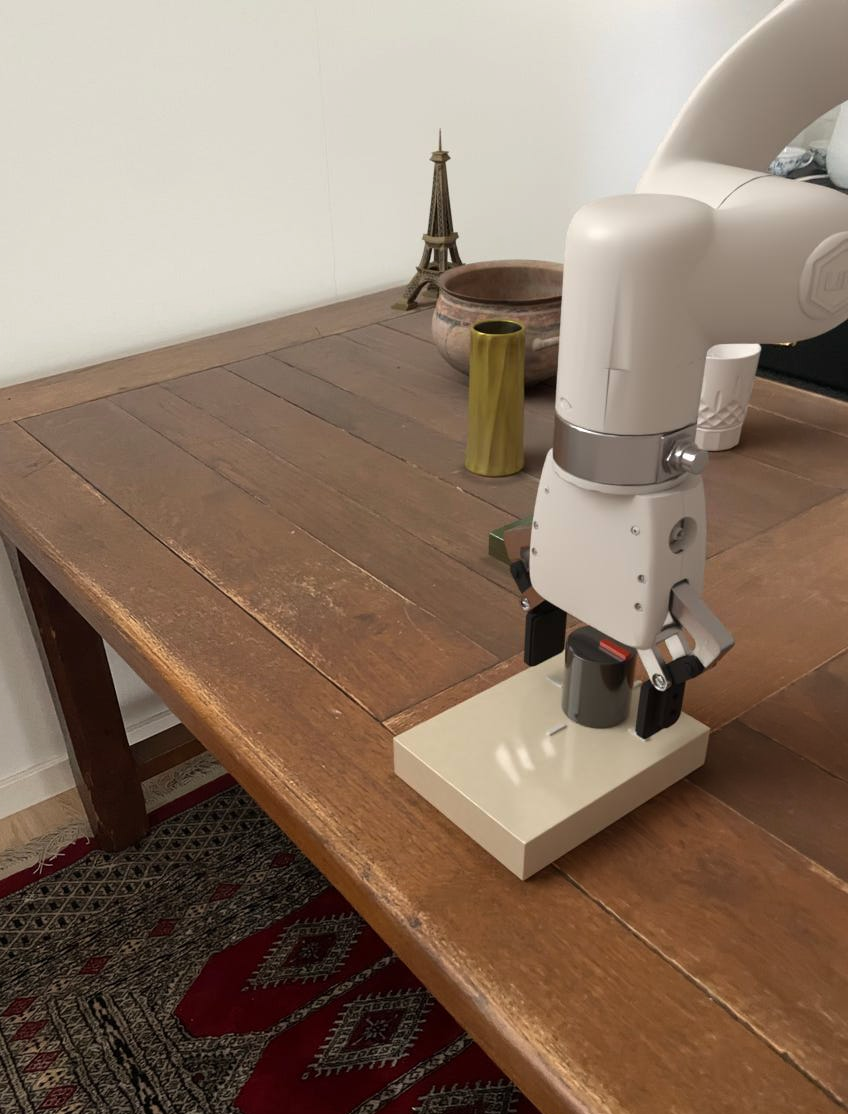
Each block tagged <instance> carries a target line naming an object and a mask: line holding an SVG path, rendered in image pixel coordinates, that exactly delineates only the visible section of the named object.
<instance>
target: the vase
mask: <svg viewBox="0 0 848 1114" xmlns="http://www.w3.org/2000/svg"><path fill="white" fill-rule="evenodd" d="M525 335H526V327H525V325H524V324H523V323H521V322H519V321H515V320H511V319H487V320H482V321H478V322H476V323H474V324H473V325H472V326H471V330H470V377H469V381H468V382H469V383H468V384H469V385H468V421H467V422H468V423H467V424H468V425H467V437H466V450H465V457H464V467H465V468H466V469H467V470H468V471H469V472H471V473H473V474H474V475H477V476H482V477H487V478H501V477H507V476H511V475H515V474H517V473H518V472H520V471H521V470H522V469H523V468H524V466H525V456H524V430H525V429H524V428H525V426H524V425H525V389H524V360H525Z"/></svg>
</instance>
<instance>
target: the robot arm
mask: <svg viewBox="0 0 848 1114" xmlns="http://www.w3.org/2000/svg"><path fill="white" fill-rule="evenodd" d="M847 101H848V0H782V1H781V2H780V3H779V4H778V5H777V6H776V7H774V8H773V9H772V10H771V11H769V12H768V13H767V15H765V16H764V17H763V18H762V19H761V20H760V21H759V22H757V23H756V24H755V25H754V26H752V27H751V28H750V29H749V30H748V31H747V32H746V33H745V34H743V35H742V36H741V37H740V38H739V39H738V40H736V42H735V43H734V44H733V45H731V47H730V48H728V49H727V50H726V52H724V53H723V54H722V56H721V57H719V59H718V60H717V61H716V62H715V63H714V64H713V65H712V66H711V67H710V68H709V70H707V72H706V73H705V75H704V76H702V78H701V79H700V81H699V82H698V83H697V85H696V86H695V87H694V89H693V90H692V92H691V93H690V94H689V96H688V97H687V99H686V100H685V102H684V103H683V105H682V107H680V110H679V112H678V113H677V115H676V116H675V118H674V119H673V121H672V123H671V125H670V127H669V128H668V129H667V131H666V133H665V135H664V136H663V139H662V140H661V141H660V144H659V145H658V146H657V148H656V149H655V152H654V154H653V155H652V157H651V158H650V161H649V162H648V164H647V166H645V169H644V170H643V173H642V175H641V177H640V179H639V181H638V183H637V186H636V188H635V190H634V193H628V194H627V193H626V194H617V195H611V196H606V197H602V198H599V199H596V200H593V201H590V202H588V203H586V204H585V205H583V206H582V207H580V208H579V209H578V210H577V211H576V212H575V214H574V215H573V216H572V218H571V220H570V222H569V225H568V228H567V231H566V235H565V243H564V256H563V264H564V271H563V288H562V306H561V323H560V339H559V356H558V372H557V374H556V388H555V389H556V390H555V406H554V419H553V420H554V421H553V436H552V447H551V448H550V449H549V450H548V451H547V453H546V457H545V460H544V464H543V467H542V471H541V475H540V479H539V483H538V486H537V493H536V498H535V503H534V509H533V514H534V516H533V523H532V524H525V525H519V526H517V527H514V528H512V529H509V530H507V531H505V532H504V533H503V540H504V543H505V547H506V550H507V553H508V556H509V560H511V561H512V564H511V565H510V566H509V571H510V575H511V577H512V578H513V580H514V582H515V584H516V586H517V588H518V590H519V592H520V593H521V594H520V595H519V597H518V604H519V606H520V609H522V610H523V611H524V612H526V614H525V626H524V627H525V629H524V649H523V663H524V664H526V665H527V666H529V668H530V667H533V666H537V665H539V664H541V663H543V662H545V661H546V660H548V659H550V658H552V657H554V656H556V655H558V654H560V653H562V652H563V651H564V650H565V647H566V633H567V632H566V631H567V620H568V614H569V615H571V616H573V617H574V618H576V619H578V620H580V621H581V622H582V623H585V624H586V625H587V626H588V625H590V626H592V627H594V628H595V629H597V630H599V631H601V632H602V633H604V634H606V635H608V636H610V637H612V638H614V639H615V640H617V641H619V642H621V643H623V644H625V645H627V646H630V647H632V648H636V649H637V652H638V654H637V655H638V656H639V658H640V661H641V663H642V664H643V667H644V670H645V672H646V673H647V676H648V678H649V679H647V680H645V681H644V682H643V681H642V684H641V685H640V687H641V689H640V697H639V704H638V712H637V720H636V727H635V731H636V734H637V735H638V736H639V737H641V738H642V739H644V740H645V739H647V738H649V737H651V736H652V735H654V734H656V733H657V732H659V731H661V730H663V729H664V728H665V729H666V728H669V727H670V726H672V725H674V724H675V723H676V722H677V721H678V719H679V717H680V714H681V711H682V709H683V702H684V697H685V689H686V682H687V681H691V680H694V679H696V678H697V677H699V676H700V675H702V674H704V673H706V672H707V671H709V670H711V669H713V668H715V667H716V666H717V663H718V662H719V661H721V660H722V659H723V658H724V657H725V656H726V655H727V654H728V653H729V652H730V651H731V650H732V649H733V648H734V646H735V644H736V639H735V637H734V635H733V634H732V633H731V631H730V630H729V629H728V628H727V627H726V625H724V624H723V622H722V621H721V620H720V619H719V617H717V615H716V614H715V613H714V612H713V611H712V609H710V608H709V606H708V605H707V604H706V603H705V602H704V600H703V599H702V598H703V591H704V582H705V570H706V555H707V508H706V493H705V487H704V486H705V485H704V480H703V476H702V475H701V473H702V472H703V471H704V470H705V469H706V468H707V465H708V462H709V459H710V457H709V451H705V450H703V449H700V448H698V446H697V444H695V438H696V431H697V420H698V411H699V404H700V397H701V391H702V384H703V377H704V370H705V363H706V356H707V351H708V350H709V349H710V348H711V347H713V346H715V345H718V344H759V345H775V344H790V343H797V342H801V341H805V340H810V339H813V338H816V337H818V336H821V335H823V334H825V333H827V332H830V331H831V330H833V329H835V328H836V327H838V326H839V325H841V324H842V323H844V322H845V321H847V320H848V194H846V193H843V192H842V191H839V190H837V189H834V188H832V187H827V186H825V185H821V184H816V183H812V182H808V181H802V180H798V179H797V180H796V179H792V178H787V177H784V176H780V175H775V174H772V173H766V171H768V169H769V168H770V166H771V165H772V164H773V162H774V161H775V160H776V159H777V157H779V155H780V154H781V153H782V152H783V151H784V149H785V148H786V147H788V145H789V144H791V143H792V141H794V140H795V139H796V138H797V137H798V136H799V135H800V134H801V133H803V131H804V130H805V129H807V128H808V127H809V126H811V125H812V124H813V123H814V122H816V121H817V120H818V119H820V118H821V117H822V116H824V115H825V114H828V113H829V112H830V111H832V110H833V109H834V108H837V107H838V106H840V105H842V104H844V103H846V102H847ZM683 628H684V630H685V631H686V632H687V633H688V634H689V635H690V636H691V638H692V639H693V641H694V648H693V649H692V648H691V645H690V643H689V641H688V639H687V636H686V634H685V633H684V630H683ZM662 642H664V644H665V646H666V648H667V650H668V653H669V655H670V657H671V659H672V660H671V661H669V662H666V661H665V658H664V656H663V654H662V651H661V649H660V648H659V645H658V644H660V643H662Z"/></svg>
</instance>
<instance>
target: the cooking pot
mask: <svg viewBox="0 0 848 1114" xmlns="http://www.w3.org/2000/svg"><path fill="white" fill-rule="evenodd" d="M563 271H564V263H562V262H561V263H560V262H556V261H549V260H541V259H540V260H538V259H519V258H517V259H516V258H515V259H495V260H485V261H478V262H471V263H466V264H465V265H462V266H459V267H455V268H452V269H450V270H448V271H446V272H444V273H443V274H441V275H440V276H439V278H438V281H437V282H438V284H439V286H440V288H442V290H441V293H440V295H439V297H438V298H437V300H436V304H435V307H434V311H433V314H432V320H431V336H432V340H433V342H434V345H435V347H436V350H437V351H438V354H439V355H440V357H442V359H443V360H444V361H445V362H446V363H447V364H448V365H449V366H450V367H452V369H455V370H456V371H457V372H460V373H461V374H463V375H464V376H467V377H468V378H470V330H471V326H472V325H473V324H474V323H476V322H478V321H482V320H487V319H511V320H515V321H519V322H521V323H523V324H524V325H525V327H526V335H525V360H524V390H526V389H529V388H531V387H534V386H535V385H537V384H539V383H541V382H543V381H545V380H548V379H549V378H551V377H554V376H556V375H557V372H558V356H559V339H560V323H561V306H562V288H563Z"/></svg>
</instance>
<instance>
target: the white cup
mask: <svg viewBox="0 0 848 1114" xmlns="http://www.w3.org/2000/svg"><path fill="white" fill-rule="evenodd" d="M761 352H762V346H761V344H718V345H715V346H713V347H711V348H710V349H709V350H708V351H707V356H706V363H705V370H704V377H703V384H702V391H701V397H700V404H699V411H698V420H697V431H696V438H695V444H697V446H698V448H700V449H703V450H705V451H707V452H719V451H725V450H730V449H733V448H734V447H736V446H737V445H739V442H740V439H741V433H742V430H743V429H742V428H743V424H744V422H745V419H746V417H747V413H748V408H749V405H750V401H751V395H752V393H753V388H754V385H755V384H754V383H755V380H756V374H757V370H758V367H759V366H758V365H759V360H760V356H761Z"/></svg>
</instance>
